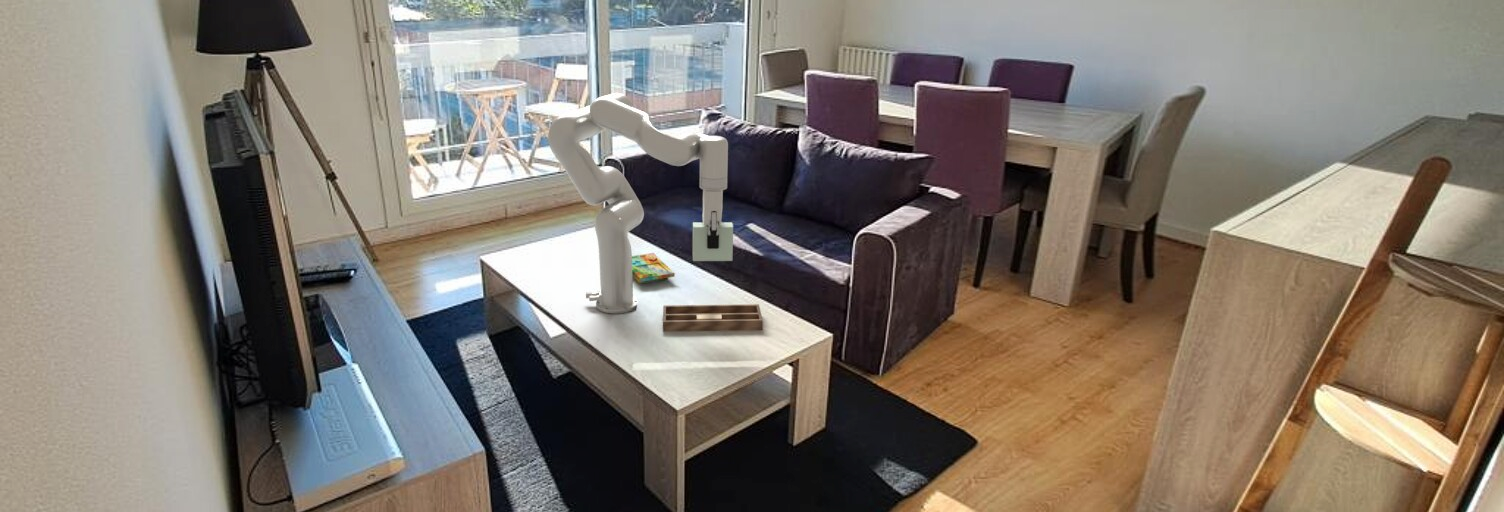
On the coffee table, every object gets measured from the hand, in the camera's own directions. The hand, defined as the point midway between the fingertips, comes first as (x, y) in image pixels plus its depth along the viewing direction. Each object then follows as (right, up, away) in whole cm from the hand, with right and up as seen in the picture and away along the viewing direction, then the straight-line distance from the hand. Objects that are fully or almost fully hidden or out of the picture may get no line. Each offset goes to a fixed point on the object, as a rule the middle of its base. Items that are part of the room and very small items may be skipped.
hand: (712, 244), depth 219 cm
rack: (-1, -23, +7) cm, 24 cm away
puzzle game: (-24, -10, +41) cm, 49 cm away
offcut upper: (-1, -22, +3) cm, 22 cm away
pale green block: (0, -4, +2) cm, 4 cm away
